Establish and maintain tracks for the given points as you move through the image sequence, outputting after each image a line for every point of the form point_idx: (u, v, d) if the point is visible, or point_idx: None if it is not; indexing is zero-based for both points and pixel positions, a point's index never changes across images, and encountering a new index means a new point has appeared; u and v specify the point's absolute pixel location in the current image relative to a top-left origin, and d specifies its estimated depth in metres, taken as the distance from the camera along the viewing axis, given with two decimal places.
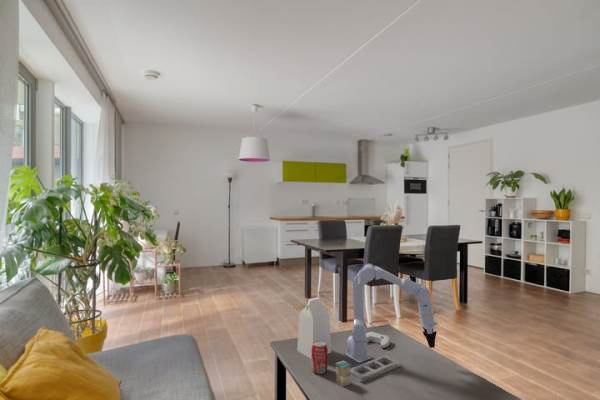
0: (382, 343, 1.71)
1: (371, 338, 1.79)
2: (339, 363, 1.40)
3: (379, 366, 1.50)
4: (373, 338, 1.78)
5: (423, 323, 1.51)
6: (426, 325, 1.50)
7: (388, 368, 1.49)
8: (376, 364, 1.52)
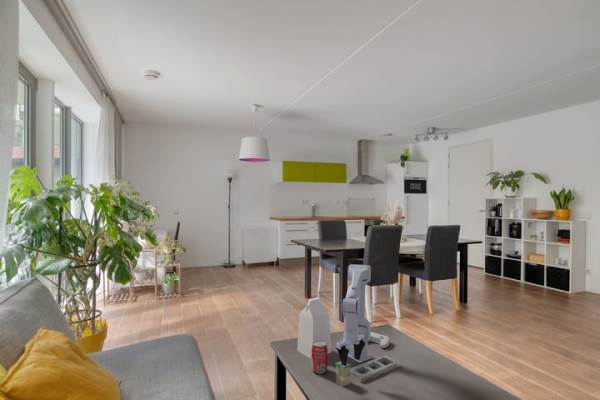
0: (382, 343, 1.71)
1: (371, 338, 1.78)
2: (339, 363, 1.40)
3: (379, 366, 1.50)
4: (373, 338, 1.78)
5: None
6: (344, 340, 1.36)
7: (388, 368, 1.49)
8: (376, 364, 1.52)
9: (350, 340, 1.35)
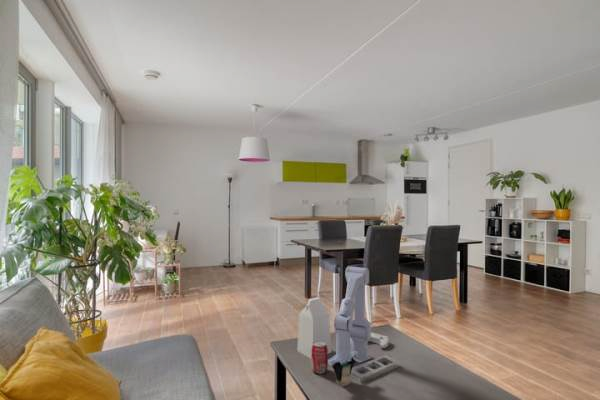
0: (381, 344, 1.70)
1: (370, 339, 1.78)
2: None
3: (379, 366, 1.50)
4: (372, 339, 1.77)
5: (336, 353, 1.39)
6: (336, 356, 1.38)
7: (388, 368, 1.49)
8: (376, 364, 1.52)
9: (342, 357, 1.36)
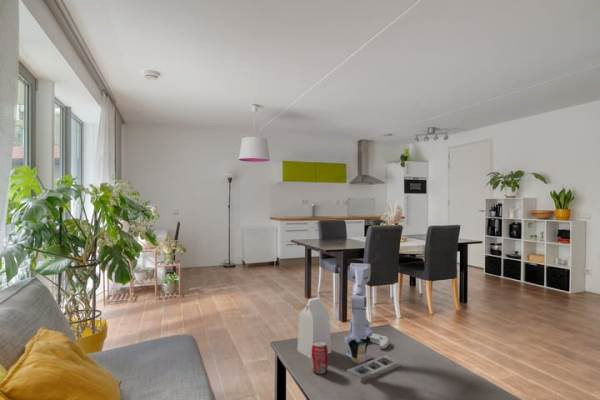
0: (381, 344, 1.70)
1: (370, 339, 1.77)
2: None
3: (379, 366, 1.50)
4: (372, 339, 1.77)
5: (351, 332, 1.44)
6: (352, 334, 1.43)
7: (388, 368, 1.49)
8: (376, 364, 1.52)
9: (358, 335, 1.41)
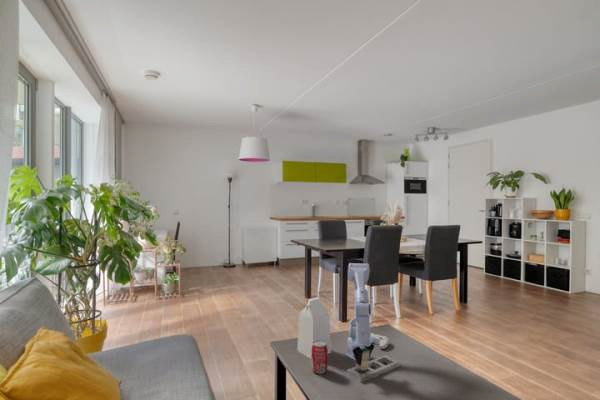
0: (381, 344, 1.70)
1: None
2: None
3: (379, 366, 1.50)
4: None
5: (355, 339, 1.46)
6: (356, 342, 1.44)
7: (388, 368, 1.49)
8: (376, 364, 1.52)
9: (362, 342, 1.42)
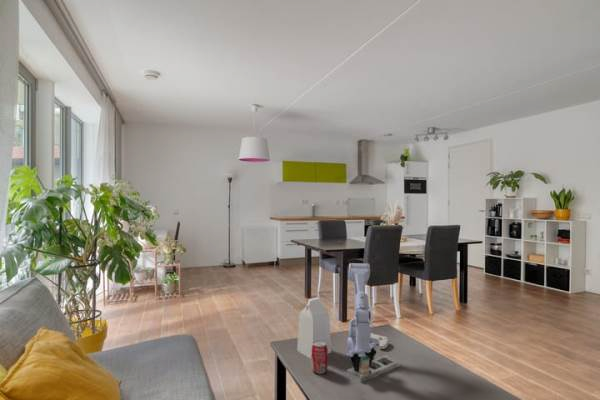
0: (381, 344, 1.70)
1: (369, 339, 1.77)
2: None
3: (379, 366, 1.50)
4: (371, 339, 1.77)
5: (355, 345, 1.46)
6: (356, 348, 1.44)
7: (388, 368, 1.49)
8: (376, 364, 1.52)
9: (362, 348, 1.42)
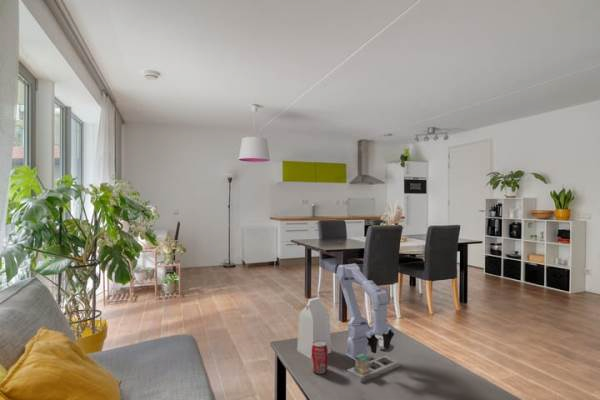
0: (381, 345, 1.69)
1: None
2: (358, 356, 1.46)
3: (379, 366, 1.50)
4: None
5: (373, 327, 1.48)
6: (374, 329, 1.47)
7: (388, 368, 1.49)
8: (376, 364, 1.52)
9: (379, 330, 1.45)
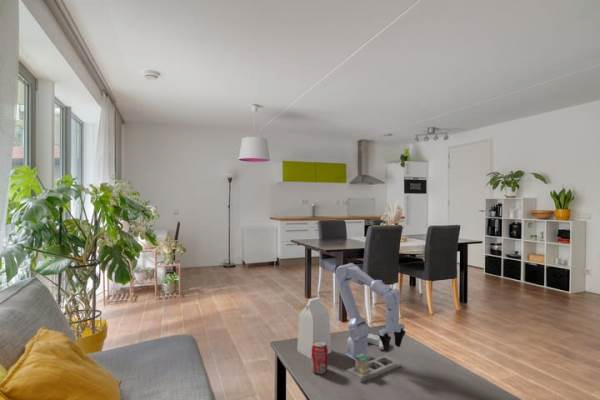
0: (380, 345, 1.69)
1: (369, 340, 1.76)
2: (358, 356, 1.46)
3: (379, 366, 1.50)
4: (371, 340, 1.76)
5: None
6: (386, 328, 1.49)
7: (388, 368, 1.49)
8: (376, 364, 1.52)
9: (392, 328, 1.47)
